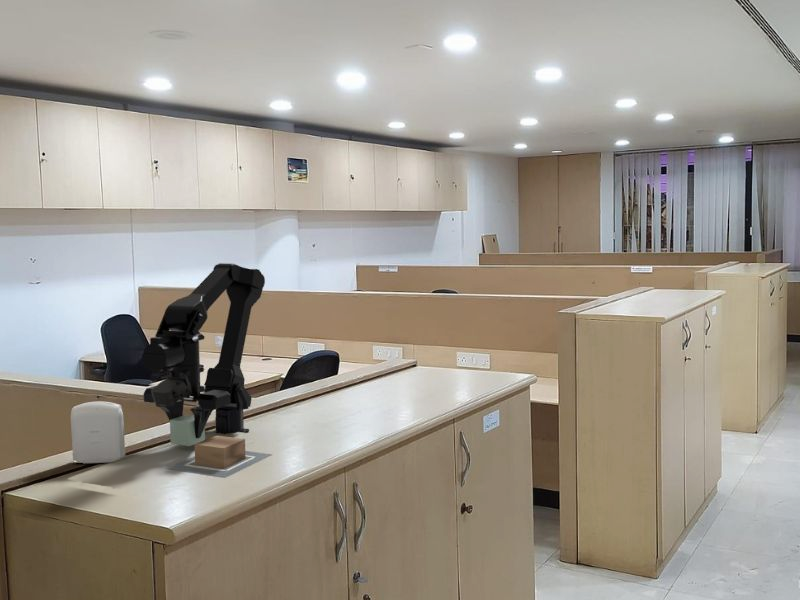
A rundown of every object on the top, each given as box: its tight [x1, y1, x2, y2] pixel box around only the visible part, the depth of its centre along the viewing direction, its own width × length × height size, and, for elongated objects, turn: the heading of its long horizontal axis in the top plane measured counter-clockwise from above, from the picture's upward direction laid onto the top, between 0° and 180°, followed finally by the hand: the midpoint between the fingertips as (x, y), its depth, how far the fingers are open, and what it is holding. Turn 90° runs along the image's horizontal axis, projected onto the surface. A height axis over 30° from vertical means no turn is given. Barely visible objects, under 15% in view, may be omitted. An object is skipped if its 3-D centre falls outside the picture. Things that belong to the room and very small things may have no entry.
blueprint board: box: [165, 450, 273, 479], centre depth 155 cm, size 16×14×1 cm
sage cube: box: [169, 414, 206, 447], centre depth 164 cm, size 5×5×5 cm
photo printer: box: [70, 400, 126, 464], centre depth 158 cm, size 10×4×12 cm, turn 96°
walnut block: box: [194, 435, 246, 468], centre depth 154 cm, size 7×7×4 cm
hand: (187, 436), depth 164 cm, fingers closed on sage cube, 5 cm apart
